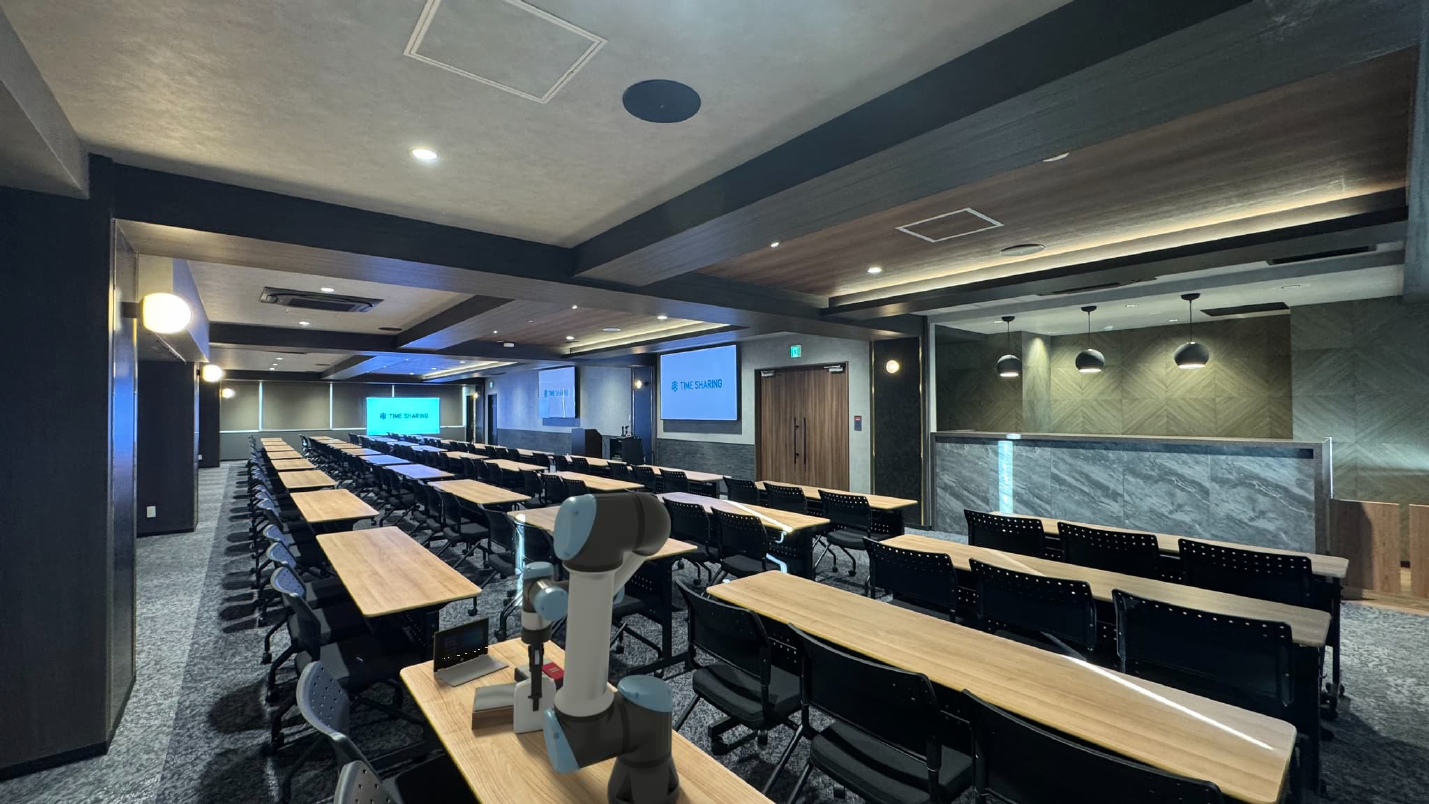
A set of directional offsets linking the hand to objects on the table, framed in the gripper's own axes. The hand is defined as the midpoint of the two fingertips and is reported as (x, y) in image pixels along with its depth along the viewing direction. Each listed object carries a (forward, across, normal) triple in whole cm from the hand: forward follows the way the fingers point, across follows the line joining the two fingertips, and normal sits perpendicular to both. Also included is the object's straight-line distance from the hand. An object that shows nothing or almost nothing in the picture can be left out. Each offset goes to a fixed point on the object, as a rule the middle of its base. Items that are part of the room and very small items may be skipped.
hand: (534, 709), depth 144 cm
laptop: (+6, +38, +17) cm, 42 cm away
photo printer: (+4, -1, 0) cm, 4 cm away
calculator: (+6, +23, -3) cm, 24 cm away
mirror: (+4, +10, +8) cm, 13 cm away
